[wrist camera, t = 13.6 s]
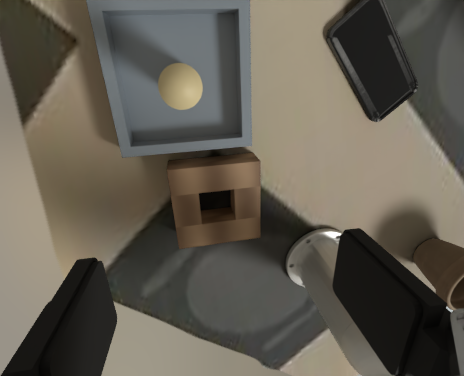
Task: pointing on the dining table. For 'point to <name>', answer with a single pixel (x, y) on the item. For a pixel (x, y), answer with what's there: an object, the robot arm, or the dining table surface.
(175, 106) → the peg
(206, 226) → the pin block
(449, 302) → the flower pot
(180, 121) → the tray
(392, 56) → the phone
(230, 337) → the dining table surface
